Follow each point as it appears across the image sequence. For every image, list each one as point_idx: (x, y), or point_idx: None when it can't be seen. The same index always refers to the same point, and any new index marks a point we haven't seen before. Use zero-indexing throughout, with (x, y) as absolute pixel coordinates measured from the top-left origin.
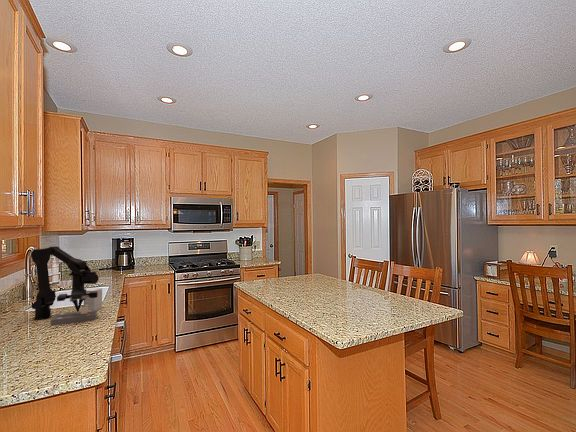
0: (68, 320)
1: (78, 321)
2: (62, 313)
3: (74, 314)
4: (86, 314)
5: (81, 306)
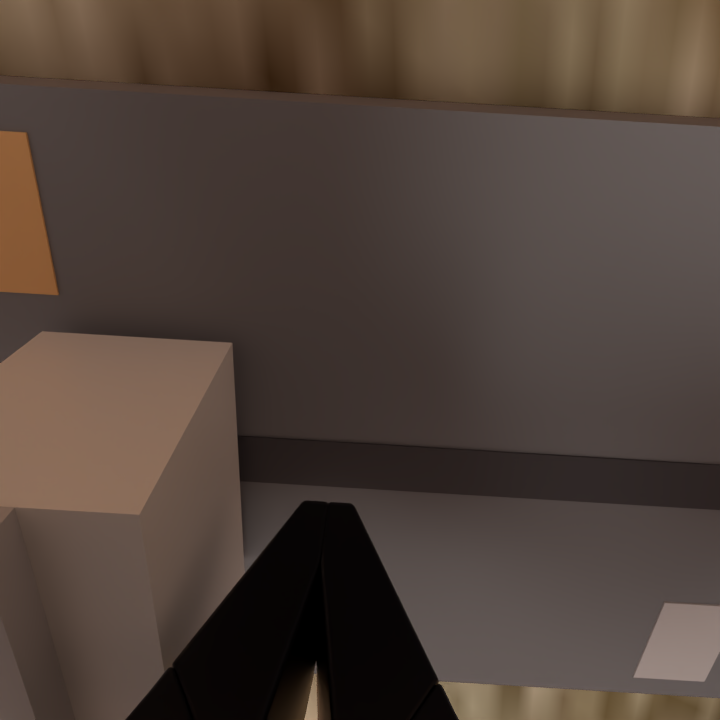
0: (581, 114)
1: (302, 94)
2: (672, 683)
3: (422, 467)
4: (66, 286)
5: (154, 633)
